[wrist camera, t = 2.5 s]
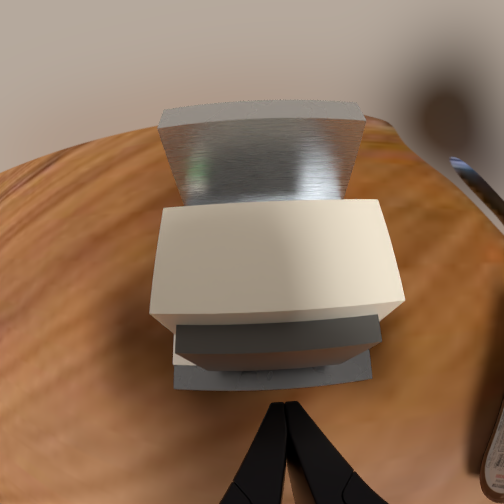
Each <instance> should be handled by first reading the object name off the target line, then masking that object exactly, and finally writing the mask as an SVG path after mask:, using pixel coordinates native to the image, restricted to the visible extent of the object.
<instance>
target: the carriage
mask: <svg viewBox="0 0 504 504" xmlns="http://www.w3.org/2000/svg"><path fill="white" fill-rule="evenodd" d="M404 301H405V297H404V292H403V288H402V283H401V279H400V275H399V271H398V267H397V263H396V259H395V255H394V251H393V248H392V244H391V241H390V237H389V234H388V230H387V227H386V224H385V220H384V217H383V214H382V211H381V208H380V205H379V202H378V200H373V199H346V200H292V201H265V202H243V203H225V204H210V205H195V206H182V207H170V208H163V214H162V220H161V226H160V232H159V238H158V245H157V252H156V259H155V266H154V274H153V282H152V291H151V301H150V311H149V314H150V315H151V316H153V317H154V318H155V319H156V320H157V321H159V322H160V323H161V324H162V325H163V326H165V327H166V328H167V329H169V330H170V331H171V332H172V333H174V334H175V335H176V339H175V354H177V355H179V356H181V357H183V358H184V359H186V360H188V361H190V362H192V363H194V364H195V365H197V366H199V367H201V368H203V369H205V370H207V371H259V370H280V369H295V368H307V367H318V366H328V365H337V364H342V363H344V362H345V361H347V360H349V359H351V358H353V357H355V356H357V355H359V354H361V353H362V352H364V351H366V350H368V349H370V348H372V347H373V346H375V345H377V344H379V343H380V342H382V337H381V331H380V324H379V321H380V320H382V319H383V318H384V317H385V316H387V315H388V314H389V313H390V312H392V311H393V310H394V309H395V308H396V307H398V306H399V305H400V304H401V303H402V302H404Z"/></svg>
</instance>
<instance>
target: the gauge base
mask: <svg viewBox="0 0 504 504" xmlns="http://www.w3.org/2000/svg"><path fill="white" fill-rule="evenodd" d="M365 124H366V119H365V117H364V115H363V114H362V112H361V110H360V108H359V106H358V104H357V103H353V102H340V101H321V100H320V101H319V100H258V101H240V102H225V103H214V104H204V105H195V106H187V107H180V108H173V109H167V110H164V111H163V114H162V117H161V119H160V122H159V125H158V128H157V129H158V132H159V135H160V138H161V141H162V144H163V147H164V150H165V153H166V156H167V159H168V162H169V164H170V167H171V170H172V173H173V176H174V179H175V181H176V184H177V187H178V190H179V193H180V195H181V198H182V201H183V204H184V206H195V205H210V204H225V203H243V202H265V201H292V200H343V199H344V196H345V192H346V189H347V186H348V183H349V180H350V176H351V173H352V170H353V166H354V163H355V160H356V156H357V153H358V149H359V146H360V142H361V139H362V135H363V131H364V128H365ZM175 339H176V335H175V334H174V344H173V365H174V389H178V390H199V391H258V390H280V389H294V388H306V387H316V386H326V385H334V384H342V383H349V382H356V381H362V380H368V379H372V370H371V360H370V352H369V349H368V350H366V351H364V352H362V353H361V354H359V355H357V356H355V357H353V358H351V359H349V360H347V361H345V362H344V363H342V364H337V365H328V366H318V367H307V368H295V369H280V370H259V371H207V370H205V369H203V368H201V367H199V366H197V365H195V364H194V363H192V362H190V361H188V360H186V359H184V358H183V357H181V356H179V355H177V354H175Z"/></svg>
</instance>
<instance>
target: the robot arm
mask: <svg viewBox="0 0 504 504" xmlns="http://www.w3.org/2000/svg"><path fill="white" fill-rule="evenodd" d="M286 461H287V467H288V472H289V477H290V482H291V486H292V491H293V496H294V500H295V504H388V503H387V502H386V501H385V500H383V499H382V498H381V497H380V496H379V495H378V494H377V493H375V492H374V491H373V490H372V489H371V488H370V487H369V486H368V485H367V484H366V483H365V482H364V481H363V480H362V479H361V477H360V476H359V475H358V474H357V473H356V472H355V471H354V469H353V468H352V467H351V466H350V465H349V464H348V462H347V461H346V460H345V459H344V458H343V457H342V455H341V454H340V453H339V452H338V451H337V449H336V448H335V447H334V446H333V445H332V443H331V442H330V441H329V440H328V438H327V437H326V436H325V435H324V434H323V432H322V431H321V430H320V429H319V427H318V426H317V425H316V424H315V422H314V421H313V420H312V419H311V417H310V416H309V415H308V414H307V412H306V411H305V410H304V409H303V407H302V406H301V405H300V403H299V402H297V401H290V402H285V404H284V403H283V402H274V403H271V404H270V406H269V408H268V410H267V413H266V415H265V417H264V419H263V421H262V423H261V425H260V427H259V430H258V432H257V434H256V436H255V438H254V440H253V442H252V444H251V446H250V448H249V450H248V452H247V454H246V456H245V458H244V460H243V462H242V464H241V466H240V468H239V470H238V471H237V473H236V475H235V477H234V479H233V482H232V483H231V484H230V486H229V488H228V490H227V492H226V493H225V495H224V496H223V498H222V500H221V501H220V503H219V504H282V499H283V490H284V481H285V470H286ZM353 471H354V472H353Z"/></svg>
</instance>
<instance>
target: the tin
mask: <svg viewBox="0 0 504 504" xmlns="http://www.w3.org/2000/svg"><path fill="white" fill-rule="evenodd" d="M480 484H481V489H482V491H483V493H484V495H485V496H486V497H487V498H488V499H490V500H491V501H493V502H496V503H504V399H503V402H502V406H501V409H500V412H499V415H498V418H497V421H496V424H495V427H494V430H493V433H492V435H491V438H490V441H489V443H488V446H487V448H486V451H485V454H484V457H483V460H482V464H481V470H480Z"/></svg>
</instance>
